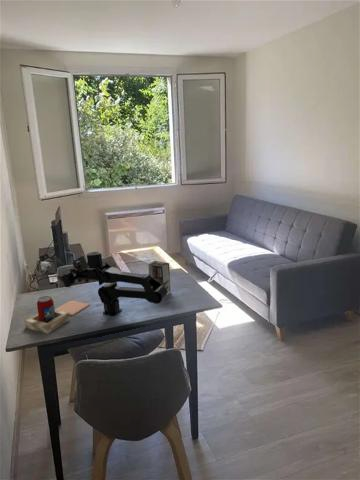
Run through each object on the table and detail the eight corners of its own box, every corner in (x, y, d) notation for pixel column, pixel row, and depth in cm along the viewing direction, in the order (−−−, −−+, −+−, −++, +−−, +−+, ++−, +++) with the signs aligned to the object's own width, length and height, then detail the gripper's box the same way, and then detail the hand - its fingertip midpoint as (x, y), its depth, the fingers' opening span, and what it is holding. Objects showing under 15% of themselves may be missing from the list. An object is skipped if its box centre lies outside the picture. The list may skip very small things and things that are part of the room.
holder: (69, 319, 161) (68, 312, 160) (47, 333, 150) (46, 326, 149) (48, 314, 166) (47, 307, 165) (25, 327, 155) (24, 320, 154)
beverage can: (51, 328, 154) (47, 302, 151) (36, 327, 155) (32, 301, 152) (59, 320, 160) (55, 295, 157) (45, 319, 162) (41, 295, 159)
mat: (89, 305, 175) (89, 304, 175) (72, 315, 164) (72, 314, 164) (71, 301, 180) (70, 300, 180) (53, 311, 170) (53, 310, 169)
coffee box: (171, 292, 187) (169, 262, 182) (164, 296, 181) (162, 266, 177) (157, 289, 191) (155, 260, 187) (149, 293, 186) (147, 263, 182)
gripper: (99, 252, 172) (73, 252, 178) (75, 264, 155) (47, 264, 161) (103, 273, 175) (77, 273, 180) (80, 288, 158) (52, 287, 164)
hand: (64, 273), depth 171 cm, fingers open, 9 cm apart
